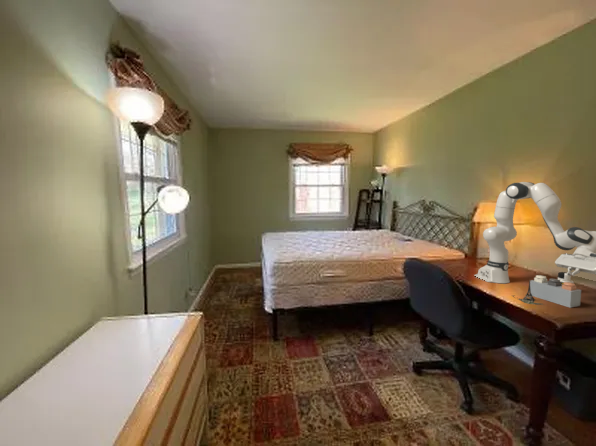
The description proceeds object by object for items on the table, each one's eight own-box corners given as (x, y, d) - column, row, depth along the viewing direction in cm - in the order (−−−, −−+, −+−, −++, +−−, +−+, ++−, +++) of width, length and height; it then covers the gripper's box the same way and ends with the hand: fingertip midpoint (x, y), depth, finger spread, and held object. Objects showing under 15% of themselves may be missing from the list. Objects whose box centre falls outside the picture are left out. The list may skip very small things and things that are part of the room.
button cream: (533, 287, 186) (533, 275, 185) (538, 287, 188) (539, 274, 187) (541, 290, 182) (542, 277, 181) (547, 289, 183) (548, 276, 182)
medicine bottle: (553, 290, 195) (554, 272, 193) (559, 288, 197) (561, 270, 196) (566, 293, 188) (567, 274, 187) (573, 292, 191) (574, 273, 189)
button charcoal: (546, 291, 179) (547, 279, 178) (552, 290, 180) (553, 278, 180) (555, 294, 175) (556, 281, 174) (561, 293, 176) (562, 280, 175)
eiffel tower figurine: (510, 296, 187) (511, 275, 186) (527, 296, 186) (529, 274, 185) (527, 305, 172) (528, 282, 171) (546, 305, 172) (547, 282, 170)
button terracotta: (560, 295, 172) (561, 282, 171) (566, 294, 173) (567, 281, 173) (570, 298, 167) (571, 285, 167) (576, 297, 169) (577, 284, 168)
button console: (529, 294, 187) (529, 280, 186) (538, 293, 190) (539, 279, 189) (570, 307, 166) (571, 291, 165) (580, 305, 169) (581, 289, 168)
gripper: (560, 249, 180) (547, 267, 178) (603, 256, 161) (589, 276, 159) (564, 256, 182) (552, 274, 180) (608, 263, 162) (594, 283, 160)
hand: (570, 275), depth 169 cm, fingers closed
